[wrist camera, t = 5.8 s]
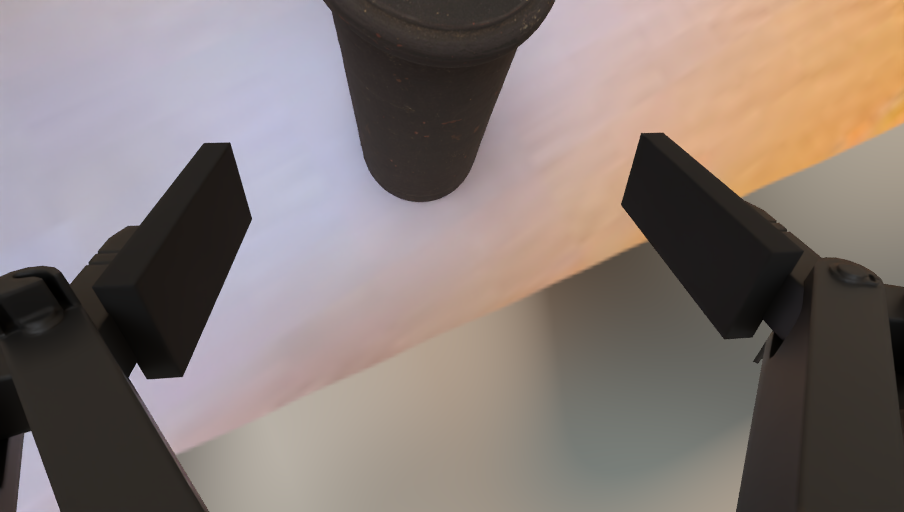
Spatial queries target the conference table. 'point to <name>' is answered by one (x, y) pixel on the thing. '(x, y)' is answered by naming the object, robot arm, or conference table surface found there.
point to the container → (428, 82)
